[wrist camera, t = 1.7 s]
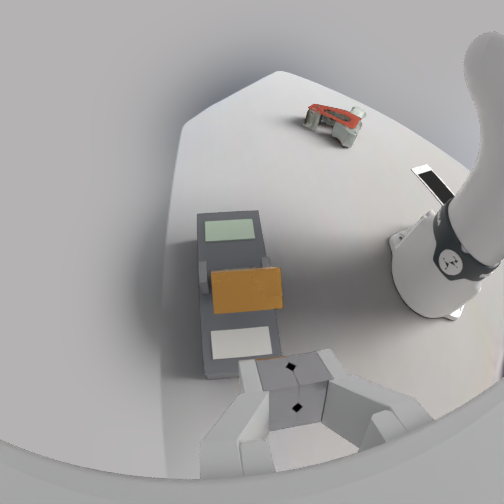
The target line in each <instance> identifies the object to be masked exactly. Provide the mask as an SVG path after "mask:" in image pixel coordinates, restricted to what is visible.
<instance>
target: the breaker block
mask: <svg viewBox="0 0 504 504" xmlns="http://www.w3.org/2000/svg"><path fill="white" fill-rule="evenodd" d="M197 245H198V279H199V301H200V320H201V335H202V349H203V362H204V374H205V376H206V377H207V378H208V379H209V380H210V379H224V378H236V377H239V368H238V361H239V360H250V359H254V360H255V359H261V358H271V357H281V356H282V352H281V346H280V339H279V333H278V327H277V320H276V314H275V309H269V310H259V311H248V312H236V313H223V314H214V305H213V293H212V281H211V270H212V269H227V268H241V267H255V266H257V267H258V268H262V267H271V266H270V260H269V257H266V253H265V247H264V241H263V236H262V230H261V224H260V218H259V212H258V210H256V211H236V212H218V213H202V214H197Z"/></svg>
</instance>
